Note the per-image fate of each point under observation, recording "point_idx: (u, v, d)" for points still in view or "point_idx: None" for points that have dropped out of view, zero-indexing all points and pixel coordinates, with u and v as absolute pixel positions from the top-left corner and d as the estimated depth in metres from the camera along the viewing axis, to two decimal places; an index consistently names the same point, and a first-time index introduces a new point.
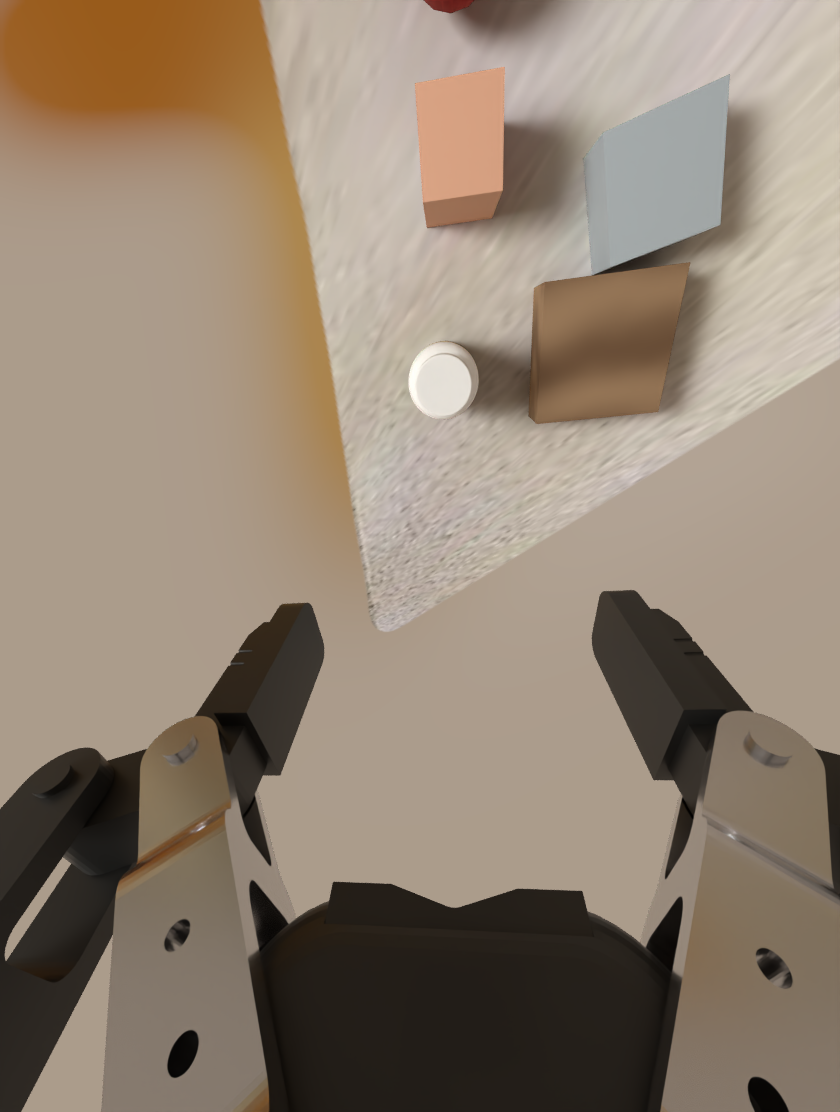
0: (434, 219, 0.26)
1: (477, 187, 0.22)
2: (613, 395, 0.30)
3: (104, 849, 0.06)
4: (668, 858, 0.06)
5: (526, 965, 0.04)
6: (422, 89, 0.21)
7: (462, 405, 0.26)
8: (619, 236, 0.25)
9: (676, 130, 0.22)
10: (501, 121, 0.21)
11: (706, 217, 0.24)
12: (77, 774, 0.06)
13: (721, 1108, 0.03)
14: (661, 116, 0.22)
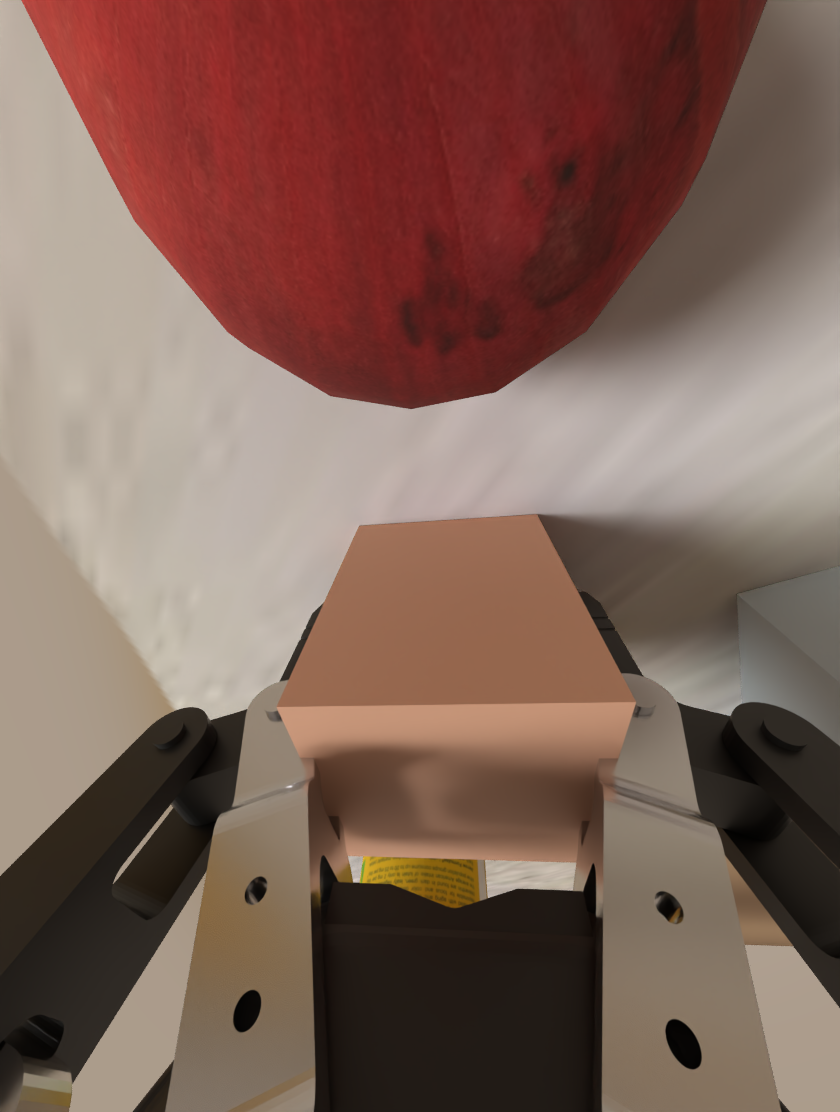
0: None
1: (507, 854, 0.07)
2: (769, 932, 0.15)
3: (200, 807, 0.07)
4: (582, 824, 0.06)
5: (526, 965, 0.04)
6: (307, 718, 0.05)
7: None
8: None
9: None
10: None
11: None
12: (188, 730, 0.07)
13: (648, 1067, 0.03)
14: None
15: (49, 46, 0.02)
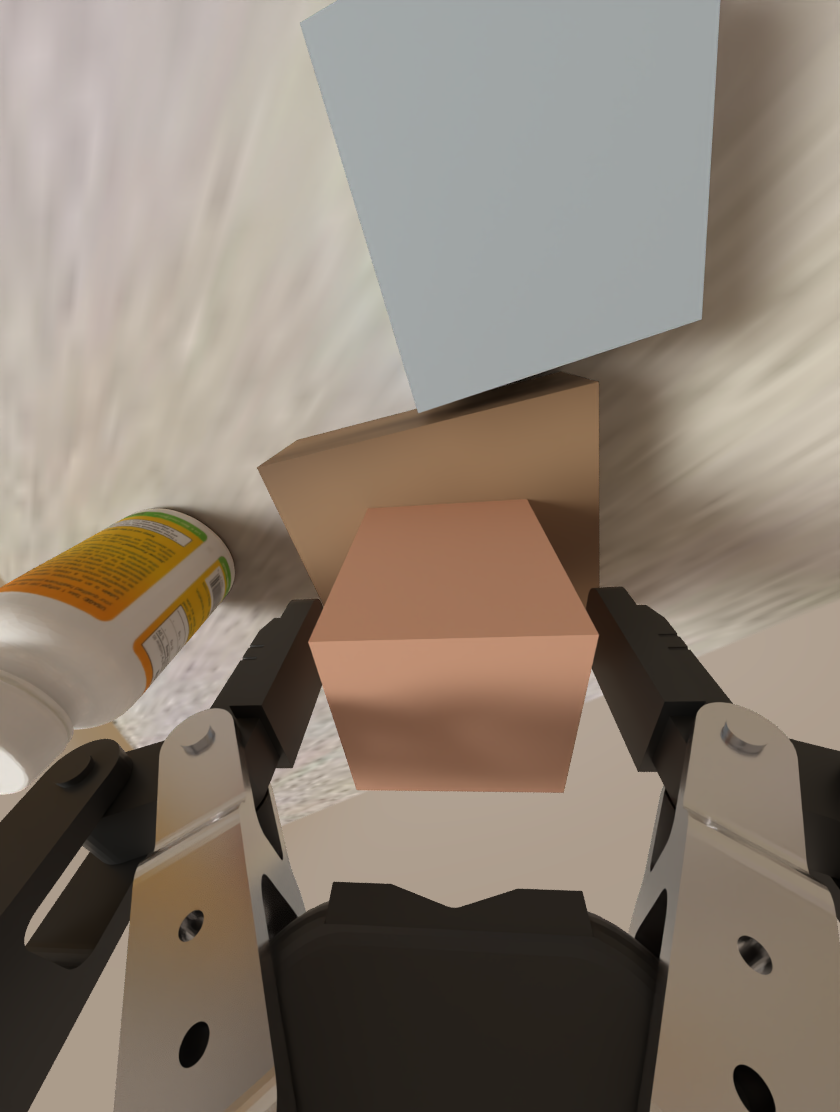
0: None
1: (497, 785, 0.09)
2: None
3: (121, 840, 0.06)
4: (653, 850, 0.06)
5: (526, 965, 0.04)
6: (333, 652, 0.07)
7: (23, 783, 0.10)
8: (423, 341, 0.09)
9: (547, 15, 0.06)
10: (574, 714, 0.07)
11: (661, 299, 0.08)
12: (97, 764, 0.06)
13: (708, 1098, 0.03)
14: None
15: None
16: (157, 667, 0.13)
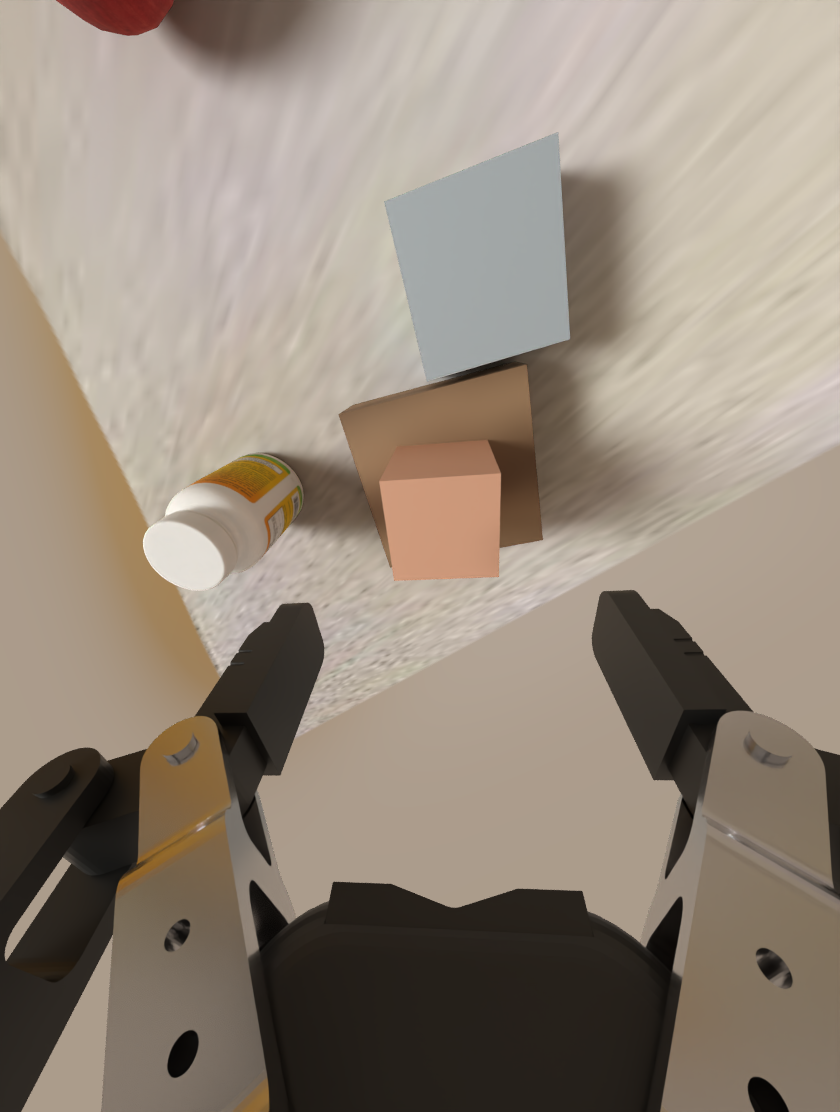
0: None
1: (465, 572, 0.17)
2: None
3: (104, 849, 0.06)
4: (668, 858, 0.06)
5: (526, 965, 0.04)
6: (389, 487, 0.15)
7: (219, 579, 0.18)
8: (431, 342, 0.17)
9: (491, 206, 0.15)
10: (496, 520, 0.16)
11: (549, 328, 0.17)
12: (77, 774, 0.06)
13: (721, 1108, 0.03)
14: (465, 185, 0.15)
15: None
16: (271, 540, 0.21)
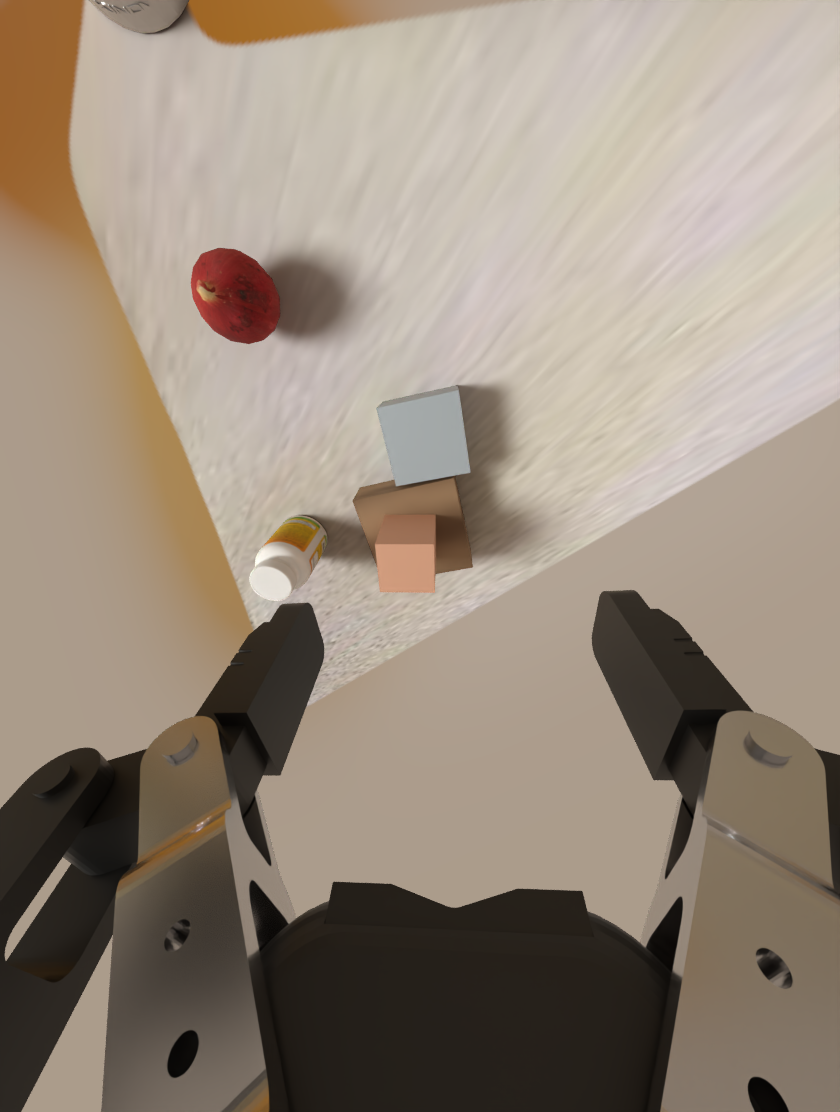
0: None
1: (417, 589, 0.33)
2: None
3: (104, 849, 0.06)
4: (668, 858, 0.06)
5: (526, 965, 0.04)
6: (379, 547, 0.31)
7: (287, 595, 0.34)
8: (398, 468, 0.33)
9: (428, 414, 0.30)
10: (432, 565, 0.31)
11: (459, 467, 0.33)
12: (77, 774, 0.06)
13: (720, 1107, 0.03)
14: (416, 405, 0.30)
15: (196, 304, 0.26)
16: None
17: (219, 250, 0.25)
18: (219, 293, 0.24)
